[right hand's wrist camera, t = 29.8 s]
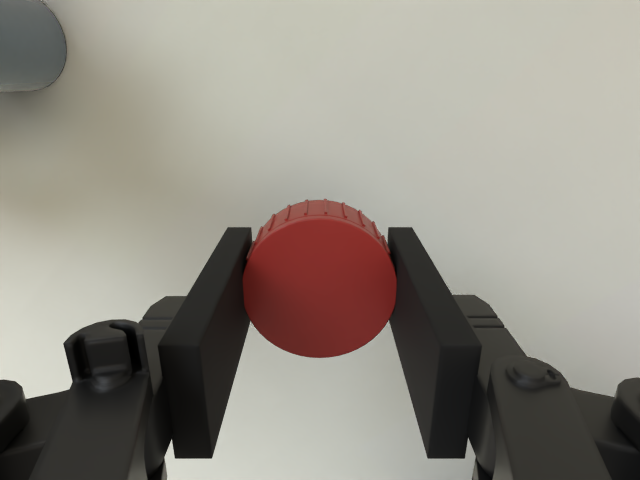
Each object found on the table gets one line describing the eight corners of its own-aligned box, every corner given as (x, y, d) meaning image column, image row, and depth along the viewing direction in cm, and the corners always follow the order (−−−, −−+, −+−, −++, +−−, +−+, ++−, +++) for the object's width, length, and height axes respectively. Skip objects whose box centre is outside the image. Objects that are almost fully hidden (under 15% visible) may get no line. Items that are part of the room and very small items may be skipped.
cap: (417, 241, 14) (432, 265, 12) (344, 346, 15) (346, 382, 14) (291, 171, 13) (286, 185, 11) (226, 289, 15) (213, 319, 13)
